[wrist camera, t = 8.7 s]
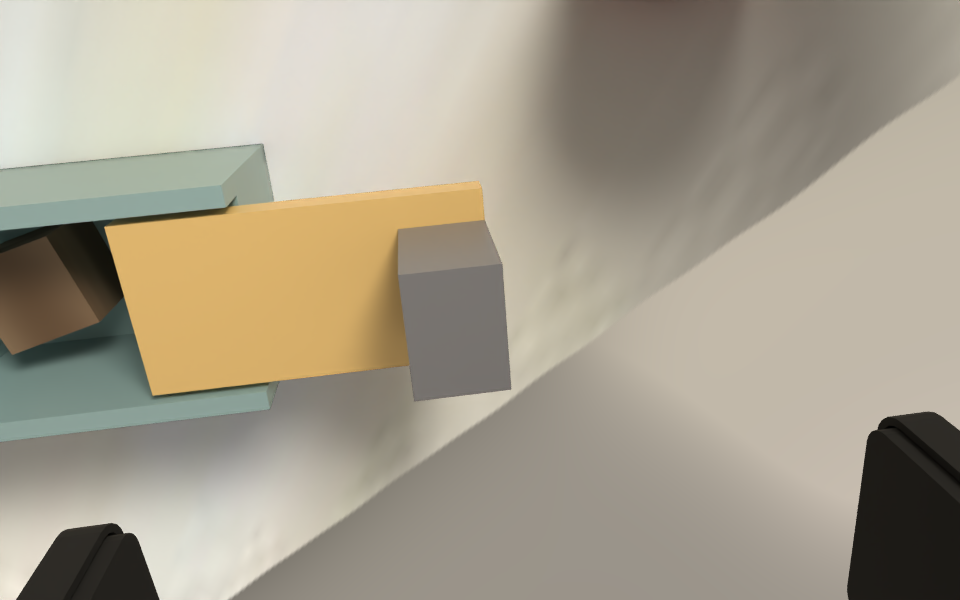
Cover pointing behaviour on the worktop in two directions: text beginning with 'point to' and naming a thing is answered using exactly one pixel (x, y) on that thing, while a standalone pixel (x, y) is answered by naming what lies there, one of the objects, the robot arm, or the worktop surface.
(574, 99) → the worktop surface
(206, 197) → the tub
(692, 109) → the worktop surface
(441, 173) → the worktop surface
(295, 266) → the lid
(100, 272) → the walnut block
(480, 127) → the worktop surface
